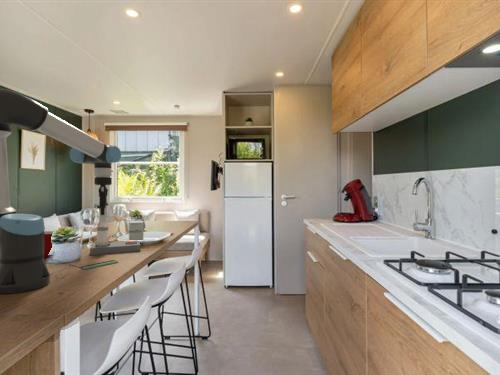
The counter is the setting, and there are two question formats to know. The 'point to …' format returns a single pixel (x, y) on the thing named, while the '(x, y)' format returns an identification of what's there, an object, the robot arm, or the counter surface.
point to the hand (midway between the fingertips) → (103, 220)
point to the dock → (114, 248)
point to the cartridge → (102, 236)
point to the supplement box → (136, 230)
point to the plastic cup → (47, 243)
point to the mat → (97, 264)
